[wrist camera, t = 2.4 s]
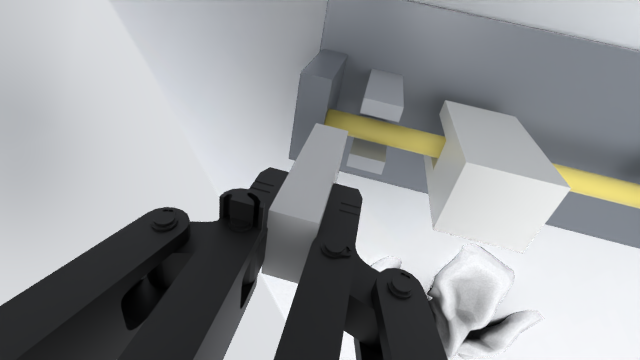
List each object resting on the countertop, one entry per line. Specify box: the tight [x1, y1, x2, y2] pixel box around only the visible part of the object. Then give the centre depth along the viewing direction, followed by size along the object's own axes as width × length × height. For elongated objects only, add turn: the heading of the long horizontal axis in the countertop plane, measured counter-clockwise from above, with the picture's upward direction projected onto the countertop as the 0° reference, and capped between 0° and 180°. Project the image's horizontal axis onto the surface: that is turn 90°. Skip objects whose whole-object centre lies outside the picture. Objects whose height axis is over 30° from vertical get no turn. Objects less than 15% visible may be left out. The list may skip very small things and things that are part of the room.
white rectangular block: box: [424, 100, 571, 254], centre depth 17 cm, size 4×4×7 cm
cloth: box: [371, 244, 545, 360], centre depth 31 cm, size 22×19×6 cm
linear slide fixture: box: [289, 0, 640, 248], centre depth 19 cm, size 28×12×8 cm, turn 80°
